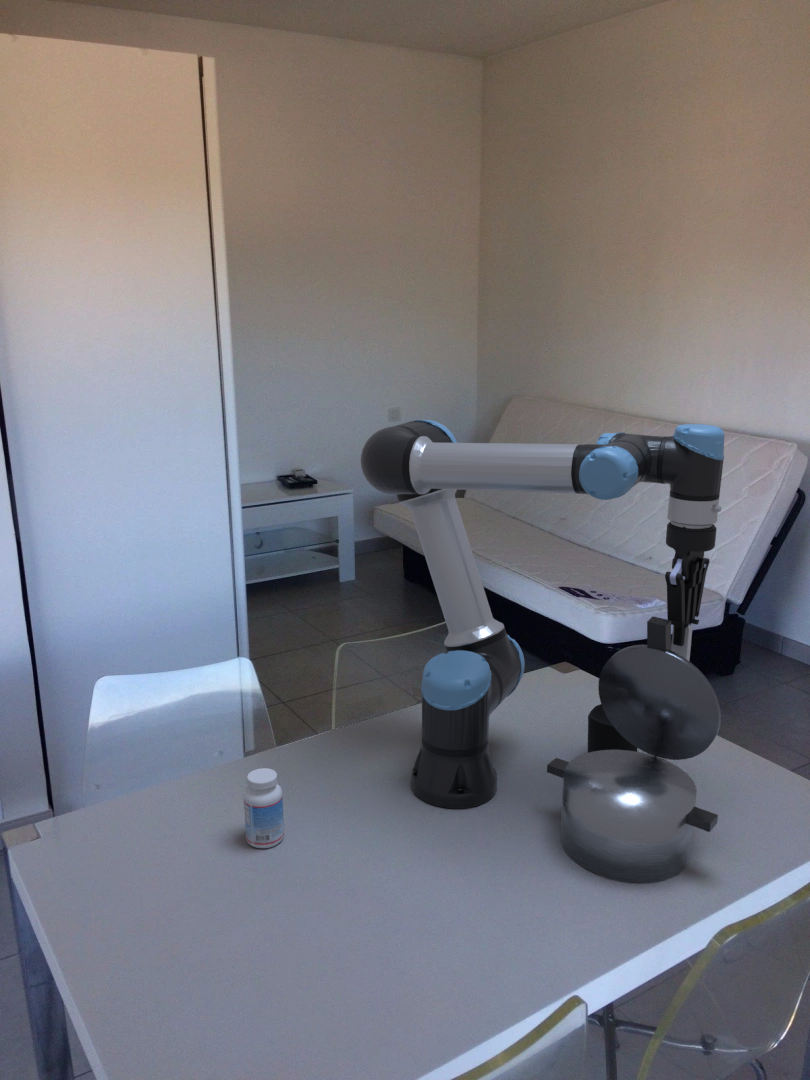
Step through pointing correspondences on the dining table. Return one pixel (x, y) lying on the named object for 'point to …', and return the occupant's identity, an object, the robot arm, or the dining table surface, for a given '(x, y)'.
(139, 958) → the dining table surface
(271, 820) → the pill bottle
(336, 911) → the dining table surface
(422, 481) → the robot arm
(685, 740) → the pot lid
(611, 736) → the pen holder
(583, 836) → the cooking pot
